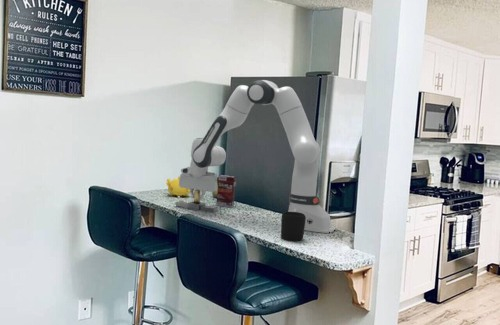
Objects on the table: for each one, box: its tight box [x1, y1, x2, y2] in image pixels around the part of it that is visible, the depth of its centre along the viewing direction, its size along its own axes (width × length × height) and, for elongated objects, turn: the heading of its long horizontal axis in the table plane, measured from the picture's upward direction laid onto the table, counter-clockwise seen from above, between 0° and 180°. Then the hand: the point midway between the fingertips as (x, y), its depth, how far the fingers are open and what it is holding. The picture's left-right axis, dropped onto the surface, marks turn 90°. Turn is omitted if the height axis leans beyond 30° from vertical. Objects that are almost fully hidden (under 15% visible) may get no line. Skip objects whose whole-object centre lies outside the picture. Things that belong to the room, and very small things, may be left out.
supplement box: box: [215, 174, 237, 208], centre depth 257 cm, size 9×5×16 cm, turn 76°
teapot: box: [165, 176, 191, 197], centre depth 278 cm, size 14×14×11 cm
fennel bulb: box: [211, 176, 219, 198], centre depth 284 cm, size 6×5×12 cm
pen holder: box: [280, 211, 306, 242], centre depth 194 cm, size 9×9×10 cm
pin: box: [193, 189, 202, 204], centre depth 243 cm, size 3×3×8 cm
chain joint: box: [174, 200, 219, 214], centre depth 243 cm, size 22×6×3 cm, turn 65°
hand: (197, 198), depth 243 cm, fingers open, 3 cm apart
